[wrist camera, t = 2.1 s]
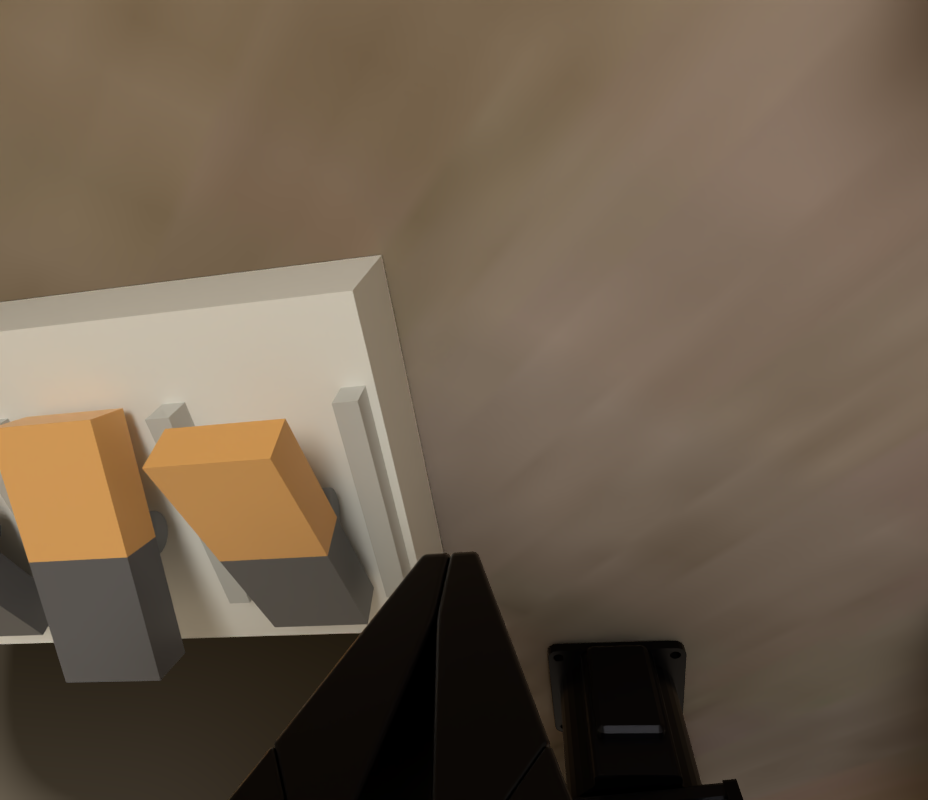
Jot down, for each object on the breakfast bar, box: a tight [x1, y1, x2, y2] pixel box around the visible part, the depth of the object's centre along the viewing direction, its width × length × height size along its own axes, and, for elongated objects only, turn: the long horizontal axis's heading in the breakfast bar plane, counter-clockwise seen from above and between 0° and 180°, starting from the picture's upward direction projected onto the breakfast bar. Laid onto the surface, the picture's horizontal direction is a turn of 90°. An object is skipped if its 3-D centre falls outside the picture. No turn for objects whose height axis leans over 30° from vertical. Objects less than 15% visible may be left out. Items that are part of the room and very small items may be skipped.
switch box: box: [0, 255, 444, 644], centre depth 22 cm, size 14×20×5 cm
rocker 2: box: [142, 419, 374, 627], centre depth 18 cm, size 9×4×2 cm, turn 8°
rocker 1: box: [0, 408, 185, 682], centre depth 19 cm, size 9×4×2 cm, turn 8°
